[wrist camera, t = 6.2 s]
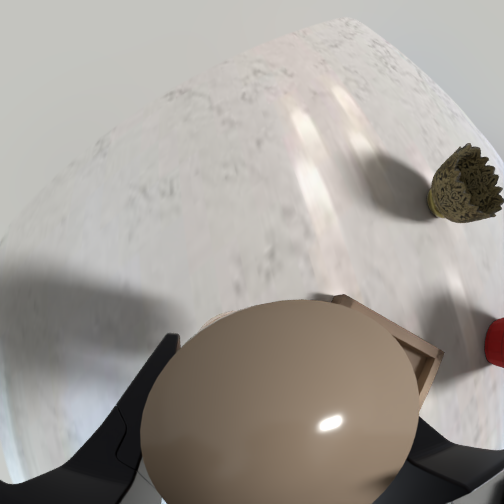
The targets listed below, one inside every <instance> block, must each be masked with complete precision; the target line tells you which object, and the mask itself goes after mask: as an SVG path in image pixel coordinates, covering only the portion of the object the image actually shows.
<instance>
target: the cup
mask: <svg viewBox="0 0 504 504" xmlns="http://www.w3.org/2000/svg"><path fill="white" fill-rule="evenodd" d="M480 155H481V150H480V148H479V147H471V143H468V144H466V145H465V146H464V147H463V148H461V147H459V148H458V149H457V150H456V151H455V152H454V153H453V154H452V155H451V156H450V157H449V158H448V159H447V160H446V161H445V162H444V163H443V164H442V165H441V166H440V168H439V169H438V170H437V171H436V173H435V175H434V177H433V180H432V185H431V189H430V190H429V192H428V194H427V204H428V207H429V209H430V210H431V212H432V213H433V214H434V215H435V216H437V217H439V218H447V219H448V220H450V221H452V222H456V223H468V222H473V221H477V220H482V219H486V218H490V217H495V216H496V215H495V213H496V212H498V211H500V210H501V209H502V207H500V206H501V205H502V204H503V203H504V199H503V198H502V196H501V195H498V194H499V193H500V192H501V191H502V190H503V188H502V187H498V186H497V187H496V186H495V185H496V184H497V181H498V178H499V176H498V175H495V174H494V171H495V167H493V166H489V165H487V166H485V164H486V163H487V161H489V158H487V157H481V156H480Z"/></svg>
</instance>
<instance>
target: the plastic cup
mask: <svg viewBox="0 0 504 504" xmlns="http://www.w3.org/2000/svg"><path fill="white" fill-rule="evenodd" d="M485 355H486V358H487V360H488V362H490V363H492V364H493V365H496V366H499V367H502V368H504V318H501V319H498V320H496V321H494V322H493V323H492V324H491V325H490V327H489V329H488V331H487V335H486V339H485Z"/></svg>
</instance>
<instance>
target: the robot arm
mask: <svg viewBox="0 0 504 504" xmlns="http://www.w3.org/2000/svg"><path fill="white" fill-rule="evenodd" d="M180 348H181V347H180V336H179V334H176V333H167V334H166V335H165V337H164V338H163V339H162V341H161V342H160V344H159V345H158V346H157V348H156V349H155V351H154V352H153V353H152V355H151V356H150V357H149V359H148V360H147V362H146V363H145V364H144V366H143V367H142V369H141V370H140V371H139V373H138V374H137V376H136V377H135V378H134V380H133V381H132V383H131V384H130V386H129V387H128V388H127V390H126V391H125V393H124V394H123V395H122V397H121V398H120V400H119V401H118V403H117V404H116V405H117V406H115V407H114V408H113V410H112V411H111V412H110V414H109V415H108V417H107V418H106V419H105V421H104V422H103V423H102V424H101V426H100V427H99V428H98V429H97V430H96V431H95V433H94V434H93V435H92V436H91V437H90V438H89V439H88V440H87V441H86V443H85V444H84V445H83V446H82V447H81V448H80V449H79V450H78V451H77V452H76V453H75V454H74V456H73V457H72V458H71V459H70V460H68V461H67V462H66V463H65V464H63V465H62V466H60V467H58V468H56V469H54V470H52V471H49V472H47V473H45V474H42V475H40V476H37V477H35V478H33V479H30V480H28V481H25V482H22V483H19V484H7V483H5V482H3V481H1V480H0V504H161V500H162V497H161V495H160V494H159V493H158V492H157V490H156V488H155V487H154V485H153V483H152V481H151V479H150V478H149V475H148V472H147V470H146V467H145V464H144V461H143V456H142V450H141V437H140V428H141V422H142V415H143V410H144V407H145V404H146V401H147V398H148V395H149V393H150V391H151V389H152V387H153V385H154V383H155V381H156V379H157V377H158V376H159V374H160V373H161V371H162V370H163V369H164V367H165V366H166V365H167V363H168V362H169V360H170V359H171V358H172V357H173V356H174V355H175V354H176V353H177V352H178V350H179V349H180ZM372 504H504V450H488V449H481V448H474V447H468V446H463V445H458V444H455V443H452V442H450V441H449V440H447V439H446V438H444V437H443V436H442V435H441V434H440V433H438V432H437V431H436V430H435V429H434V428H432V427H431V426H430V425H429V424H428V423H426V422H425V421H424V420H423V419H422V418H421V417H420V416H419V419H418V425H417V430H416V434H415V438H414V441H413V444H412V447H411V450H410V452H409V454H408V456H407V458H406V460H405V462H404V464H403V466H402V468H401V469H400V471H399V472H398V474H397V476H396V477H395V479H394V480H393V481H392V482H391V484H390V485H389V486H388V487H387V489H386V490H385V491H384V492H383V493H382V494H381V495H380V496H379V497H378V498H377V499H376V500H375V501H374V502H373V503H372Z"/></svg>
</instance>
